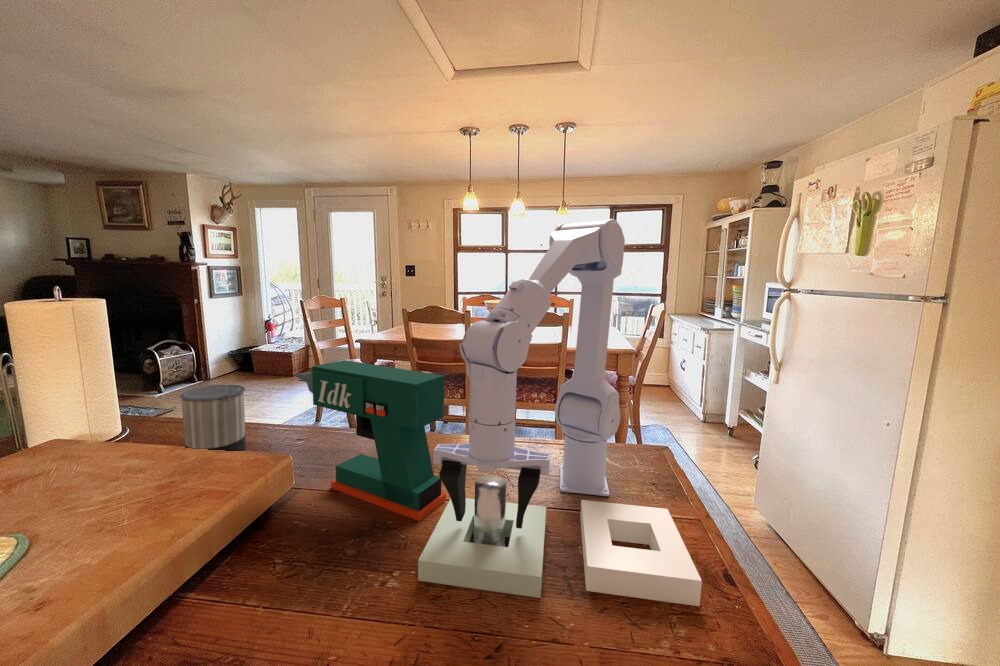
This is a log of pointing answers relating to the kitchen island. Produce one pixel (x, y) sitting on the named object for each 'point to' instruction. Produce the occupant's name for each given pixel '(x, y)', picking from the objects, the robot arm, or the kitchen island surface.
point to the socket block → (486, 553)
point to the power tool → (385, 432)
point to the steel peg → (490, 510)
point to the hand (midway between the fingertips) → (489, 520)
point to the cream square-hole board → (636, 554)
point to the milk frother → (214, 417)
